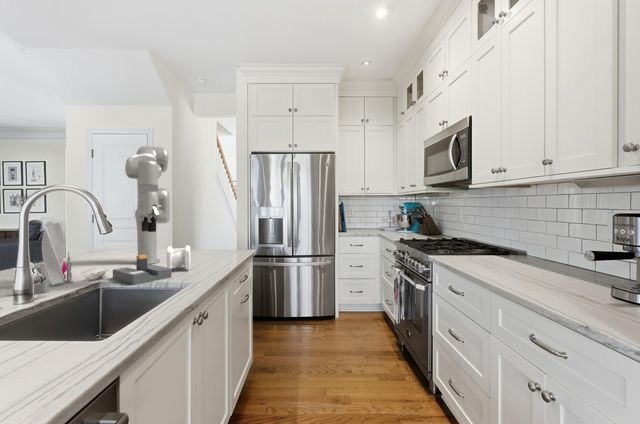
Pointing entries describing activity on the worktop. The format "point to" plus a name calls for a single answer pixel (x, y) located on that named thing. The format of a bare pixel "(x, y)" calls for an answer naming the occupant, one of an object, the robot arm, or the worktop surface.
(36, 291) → the power adapter
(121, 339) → the worktop surface
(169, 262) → the cable organizer
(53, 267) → the skyscraper
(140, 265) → the block
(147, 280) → the breaker panel
